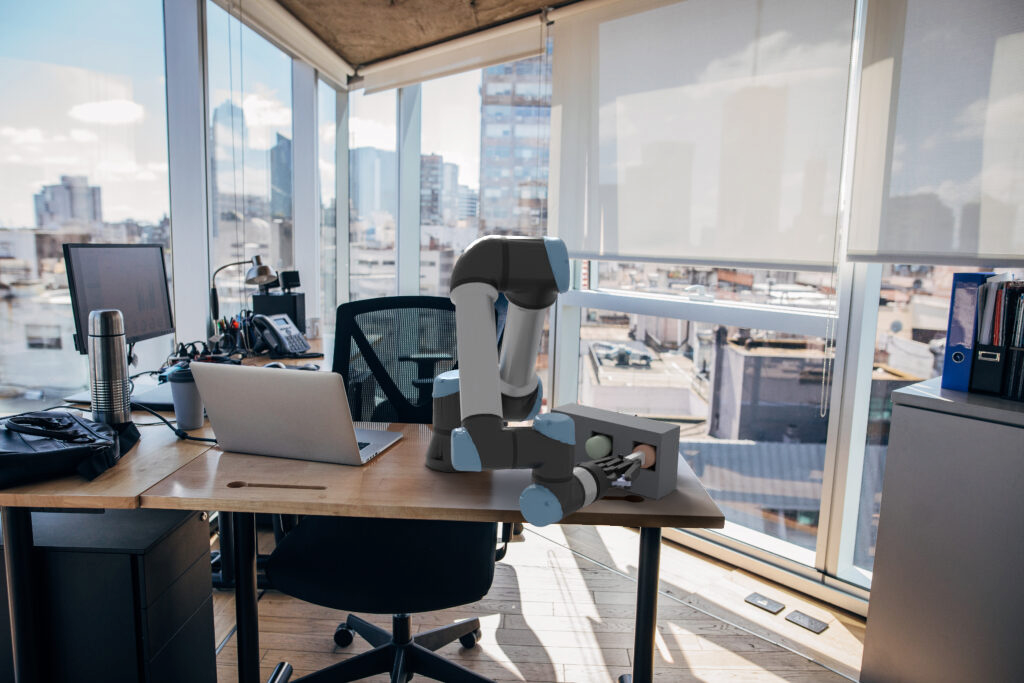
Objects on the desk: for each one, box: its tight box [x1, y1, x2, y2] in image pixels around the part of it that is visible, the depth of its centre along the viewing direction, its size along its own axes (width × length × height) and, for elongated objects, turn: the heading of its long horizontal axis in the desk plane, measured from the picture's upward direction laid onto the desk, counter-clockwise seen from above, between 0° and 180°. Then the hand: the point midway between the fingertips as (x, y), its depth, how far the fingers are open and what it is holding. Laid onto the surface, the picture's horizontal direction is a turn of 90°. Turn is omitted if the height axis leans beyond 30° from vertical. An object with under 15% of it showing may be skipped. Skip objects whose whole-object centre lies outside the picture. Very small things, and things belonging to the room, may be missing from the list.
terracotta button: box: [632, 443, 657, 468], centre depth 146 cm, size 4×5×5 cm
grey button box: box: [549, 402, 681, 501], centre depth 155 cm, size 9×30×15 cm, turn 50°
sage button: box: [585, 434, 613, 459], centre depth 151 cm, size 4×5×5 cm
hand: (642, 457), depth 144 cm, fingers closed
